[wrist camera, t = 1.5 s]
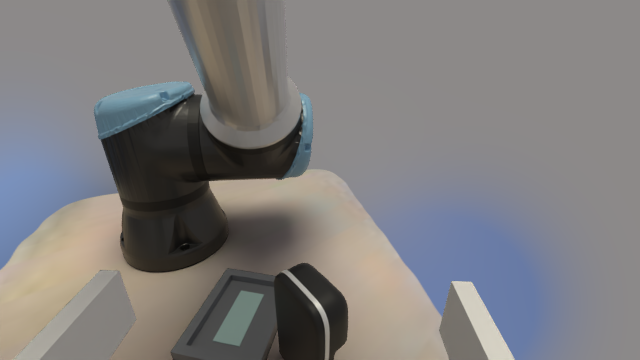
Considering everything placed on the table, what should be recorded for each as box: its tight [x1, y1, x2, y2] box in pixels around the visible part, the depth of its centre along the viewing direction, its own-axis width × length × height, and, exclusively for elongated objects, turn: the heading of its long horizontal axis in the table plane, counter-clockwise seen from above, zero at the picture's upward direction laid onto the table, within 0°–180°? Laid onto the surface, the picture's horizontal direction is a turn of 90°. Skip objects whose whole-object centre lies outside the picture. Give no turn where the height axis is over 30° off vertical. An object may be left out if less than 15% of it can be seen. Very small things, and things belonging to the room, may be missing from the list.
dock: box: [171, 268, 278, 360], centre depth 35 cm, size 12×9×2 cm
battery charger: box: [274, 263, 348, 360], centre depth 28 cm, size 7×4×11 cm, turn 38°
